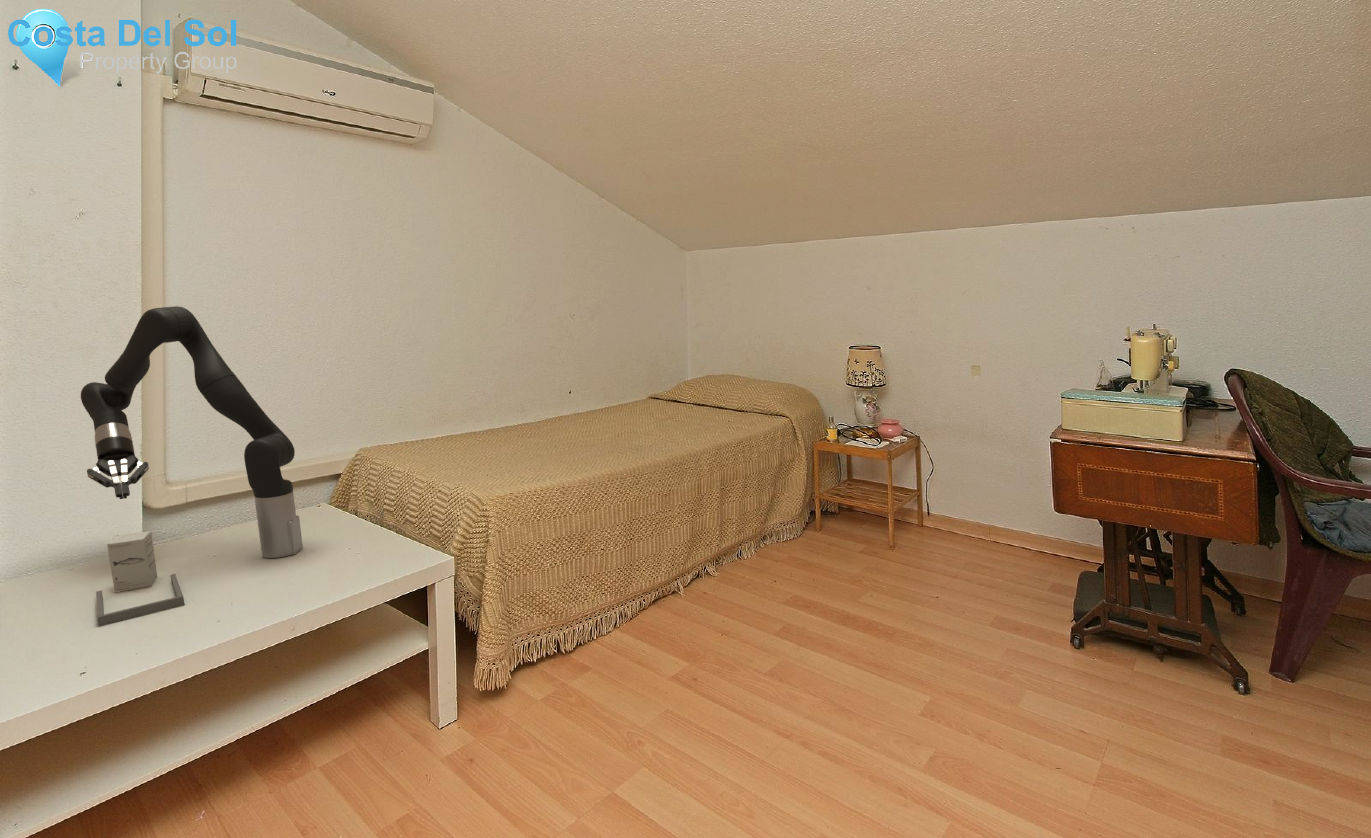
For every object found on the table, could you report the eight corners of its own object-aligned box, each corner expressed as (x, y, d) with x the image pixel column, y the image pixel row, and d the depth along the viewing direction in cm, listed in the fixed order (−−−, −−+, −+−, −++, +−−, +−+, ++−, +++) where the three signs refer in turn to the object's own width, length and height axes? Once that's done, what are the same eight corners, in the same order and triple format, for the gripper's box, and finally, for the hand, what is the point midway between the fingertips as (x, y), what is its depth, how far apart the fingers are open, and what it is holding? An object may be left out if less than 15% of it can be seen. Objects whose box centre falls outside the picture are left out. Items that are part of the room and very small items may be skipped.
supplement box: (113, 593, 159) (105, 544, 157) (122, 582, 166) (114, 534, 163) (152, 587, 162) (144, 538, 160) (159, 576, 169) (151, 529, 167)
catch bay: (97, 599, 156) (96, 591, 155) (176, 581, 166) (175, 573, 165) (98, 626, 142) (97, 617, 142) (184, 604, 152) (183, 596, 152)
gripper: (79, 438, 169) (87, 494, 162) (145, 432, 178) (155, 484, 171) (82, 455, 174) (90, 510, 167) (146, 448, 183) (156, 499, 176)
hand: (123, 497), depth 169 cm, fingers closed
